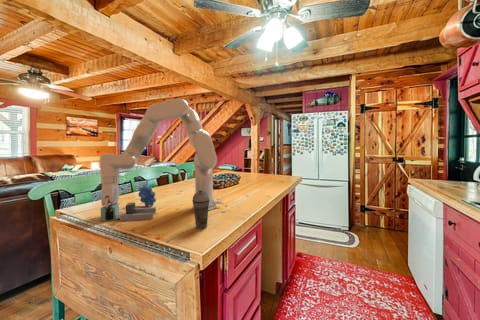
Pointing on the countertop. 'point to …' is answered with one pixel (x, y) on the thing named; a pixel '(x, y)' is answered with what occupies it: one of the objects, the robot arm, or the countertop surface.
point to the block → (115, 210)
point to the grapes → (147, 195)
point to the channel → (139, 214)
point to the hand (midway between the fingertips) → (112, 217)
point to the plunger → (127, 210)
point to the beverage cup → (201, 208)
